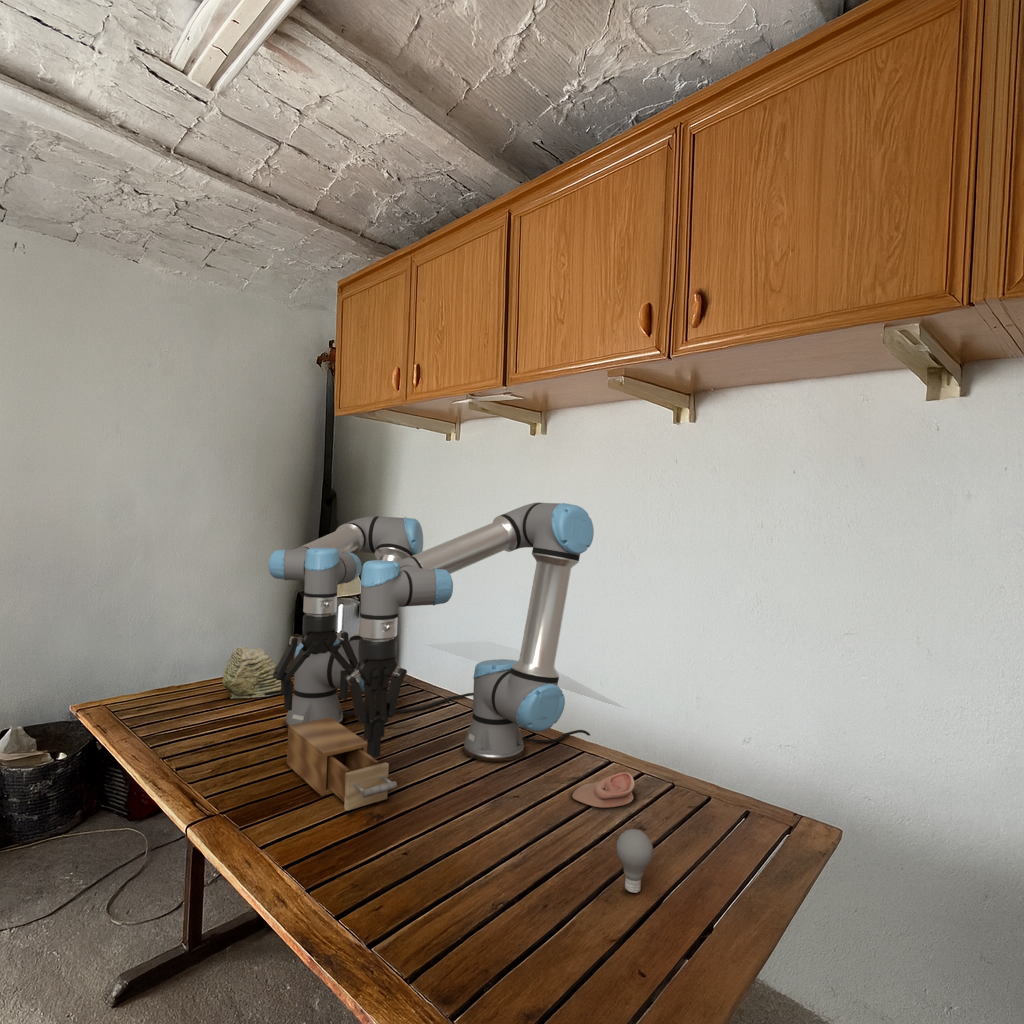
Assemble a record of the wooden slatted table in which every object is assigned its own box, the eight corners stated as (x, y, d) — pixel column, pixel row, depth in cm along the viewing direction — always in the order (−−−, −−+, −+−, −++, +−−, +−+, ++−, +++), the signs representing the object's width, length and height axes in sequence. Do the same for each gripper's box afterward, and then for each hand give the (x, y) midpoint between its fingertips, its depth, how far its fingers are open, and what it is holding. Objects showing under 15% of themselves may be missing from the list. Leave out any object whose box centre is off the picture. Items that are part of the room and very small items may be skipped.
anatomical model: (571, 785, 135) (576, 763, 146) (570, 803, 135) (575, 781, 146) (634, 793, 132) (635, 771, 144) (633, 812, 132) (634, 788, 144)
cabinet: (366, 784, 141) (368, 742, 140) (321, 796, 134) (323, 753, 134) (328, 754, 156) (330, 716, 155) (286, 764, 149) (288, 725, 149)
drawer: (400, 809, 128) (402, 773, 128) (359, 822, 122) (360, 784, 122) (347, 767, 146) (349, 736, 146) (309, 777, 140) (310, 744, 140)
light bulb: (610, 879, 108) (613, 822, 108) (644, 879, 109) (647, 822, 109) (619, 902, 102) (622, 840, 102) (655, 901, 103) (658, 840, 103)
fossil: (218, 695, 195) (220, 647, 195) (278, 685, 208) (279, 640, 207) (228, 703, 189) (230, 653, 188) (289, 692, 201) (290, 645, 201)
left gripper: (272, 621, 138) (268, 718, 138) (375, 612, 154) (372, 698, 154) (260, 615, 144) (257, 708, 144) (361, 607, 160) (357, 690, 160)
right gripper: (356, 645, 120) (352, 768, 121) (415, 637, 129) (411, 753, 129) (339, 637, 126) (334, 755, 126) (397, 631, 134) (392, 741, 135)
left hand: (316, 703), depth 149 cm, fingers open, 13 cm apart
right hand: (373, 753), depth 128 cm, fingers closed
